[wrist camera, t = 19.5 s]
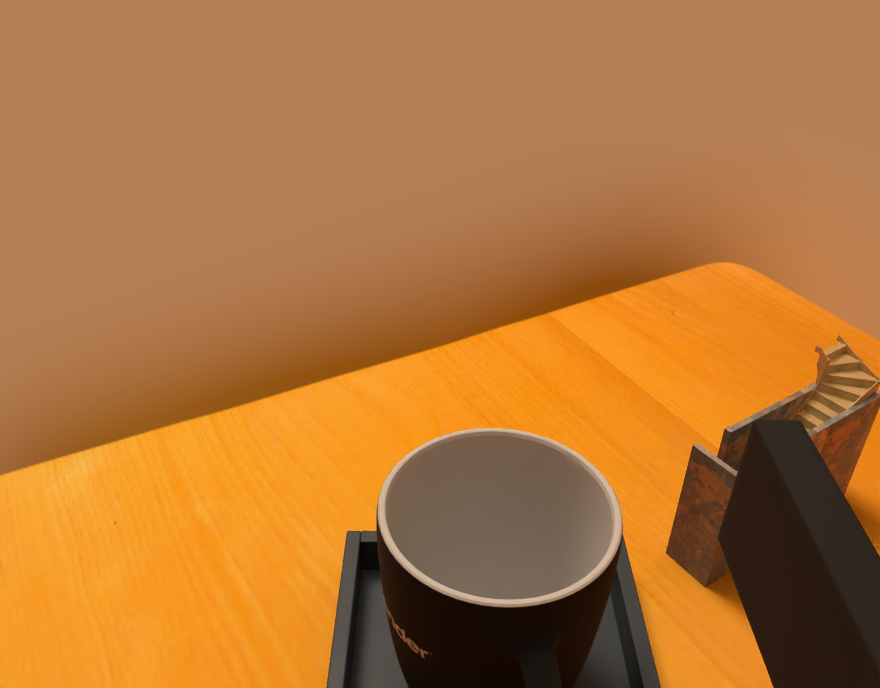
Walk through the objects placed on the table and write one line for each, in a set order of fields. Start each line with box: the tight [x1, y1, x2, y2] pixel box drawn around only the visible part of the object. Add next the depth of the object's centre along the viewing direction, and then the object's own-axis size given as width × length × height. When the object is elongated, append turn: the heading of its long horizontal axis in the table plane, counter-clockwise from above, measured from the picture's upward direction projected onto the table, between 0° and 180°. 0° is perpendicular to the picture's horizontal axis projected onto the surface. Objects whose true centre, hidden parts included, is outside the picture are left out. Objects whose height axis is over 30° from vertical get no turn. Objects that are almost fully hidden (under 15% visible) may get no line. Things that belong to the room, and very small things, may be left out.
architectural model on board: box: [666, 335, 880, 587], centre depth 41 cm, size 11×3×10 cm, turn 124°
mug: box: [377, 428, 623, 688], centre depth 31 cm, size 12×9×10 cm
